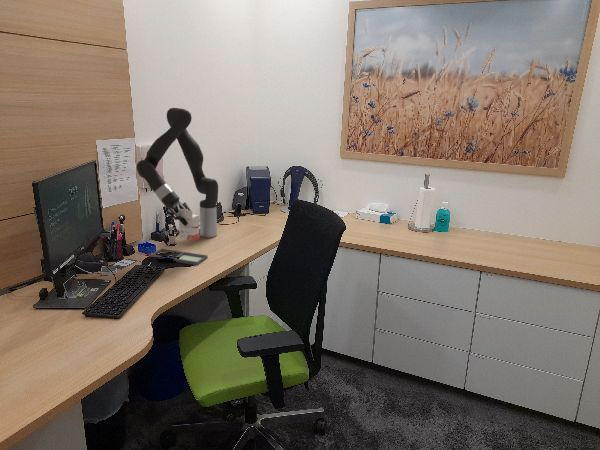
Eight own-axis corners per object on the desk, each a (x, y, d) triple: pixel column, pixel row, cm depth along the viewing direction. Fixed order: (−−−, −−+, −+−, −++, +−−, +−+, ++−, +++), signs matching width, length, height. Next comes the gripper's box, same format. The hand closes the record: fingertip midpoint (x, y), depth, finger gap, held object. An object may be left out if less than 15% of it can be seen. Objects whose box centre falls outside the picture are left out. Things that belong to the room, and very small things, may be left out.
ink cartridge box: (200, 238, 209) (199, 209, 205) (193, 241, 205) (192, 211, 201) (186, 235, 213) (185, 206, 209) (179, 238, 209) (178, 208, 205)
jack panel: (162, 251, 222) (161, 248, 221) (207, 258, 215) (207, 255, 215) (150, 257, 212) (149, 254, 212) (197, 265, 206) (197, 262, 205)
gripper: (163, 193, 199) (186, 222, 199) (180, 188, 212) (202, 214, 212) (153, 203, 201) (176, 231, 202) (170, 197, 215) (192, 223, 215)
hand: (189, 222), depth 207 cm, fingers closed on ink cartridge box, 5 cm apart
